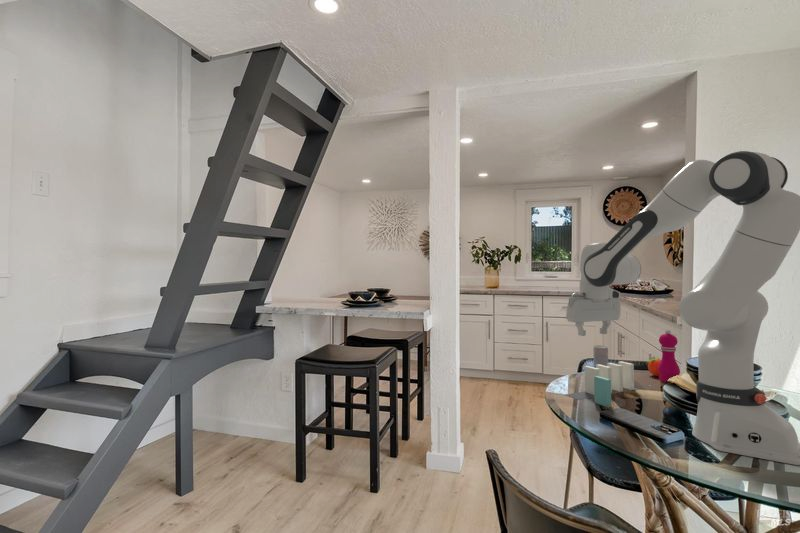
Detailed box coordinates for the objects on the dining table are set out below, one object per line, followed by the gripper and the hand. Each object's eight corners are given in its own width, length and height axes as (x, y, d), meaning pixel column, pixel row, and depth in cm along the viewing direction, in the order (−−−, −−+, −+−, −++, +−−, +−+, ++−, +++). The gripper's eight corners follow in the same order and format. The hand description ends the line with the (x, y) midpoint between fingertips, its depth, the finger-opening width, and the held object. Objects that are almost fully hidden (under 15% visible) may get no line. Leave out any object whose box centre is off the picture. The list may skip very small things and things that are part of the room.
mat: (624, 386, 154) (624, 384, 154) (639, 390, 148) (639, 389, 148) (564, 396, 143) (564, 394, 143) (577, 401, 137) (577, 399, 137)
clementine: (651, 378, 164) (651, 360, 164) (641, 374, 171) (641, 356, 171) (672, 378, 164) (671, 360, 164) (661, 374, 171) (661, 356, 171)
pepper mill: (680, 385, 154) (679, 331, 154) (657, 383, 158) (656, 330, 158) (679, 381, 160) (678, 329, 160) (657, 378, 164) (656, 328, 164)
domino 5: (621, 385, 153) (621, 361, 153) (634, 389, 148) (633, 364, 148) (618, 386, 152) (618, 361, 152) (631, 389, 147) (630, 364, 148)
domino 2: (599, 389, 148) (599, 364, 149) (611, 393, 144) (611, 367, 144) (596, 390, 148) (596, 364, 148) (608, 393, 143) (607, 367, 143)
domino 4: (611, 387, 151) (610, 362, 151) (623, 391, 146) (622, 365, 146) (607, 388, 150) (607, 363, 150) (619, 391, 145) (619, 366, 145)
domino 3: (598, 403, 135) (597, 375, 135) (611, 408, 130) (610, 379, 130) (594, 404, 134) (594, 376, 134) (607, 408, 130) (607, 380, 130)
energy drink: (605, 374, 171) (604, 345, 171) (610, 377, 166) (610, 347, 166) (591, 374, 172) (591, 345, 172) (596, 377, 166) (596, 347, 166)
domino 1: (588, 391, 146) (587, 365, 146) (600, 395, 142) (599, 368, 142) (585, 391, 146) (584, 366, 146) (596, 395, 141) (596, 369, 141)
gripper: (577, 294, 129) (575, 338, 129) (624, 292, 136) (623, 334, 137) (562, 292, 135) (561, 334, 135) (608, 291, 142) (607, 331, 143)
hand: (592, 334), depth 136 cm, fingers open, 8 cm apart
